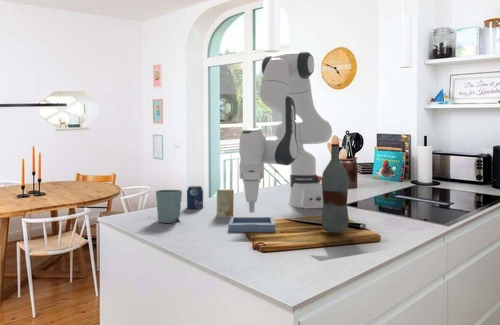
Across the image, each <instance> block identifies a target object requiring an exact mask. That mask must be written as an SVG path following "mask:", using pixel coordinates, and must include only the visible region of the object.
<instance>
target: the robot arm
mask: <svg viewBox="0 0 500 325" xmlns="http://www.w3.org/2000/svg"><path fill="white" fill-rule="evenodd" d="M314 70H315V61H314V56H313V55H312V54H311V53H310V52H308V51H287V52H281V53H277V54H273V53H272V54H269V55H267V56H265V57H264V59H263V60H262V62H261V72H262V78H261V82H260V83H261V84H260V88H259V98H260V101H261V102H262V103H263V105H264V106H266V107H267V108H268V109H270V110H273V111H276V112H278V113H280V114H281V122H279V123H278V124H277V126H276V129H275V136H276V137H267V136H265V135H264V134H263V130H262V129H261V128H257V127H255V128H254V127H253V128H247V129H244V130H242V131H241V132H240V135H239V136H240V138H239V145H238V146H239V149H238V150H239V157H240V161H239V167H238V168H239V171H238V172H239V179H240V180H242V183H243V185H244V186H243V187H244V196H245V201H246V203H248V206H249V207H248V208H249V211H248V212H249V213H250V214H251V213H255V205H256V203H257V201H258V196H259V195H258V194H259V186H260V184H261V180H263V179H265V164H267V165H268V164H269V165H272V164H274V165H281V166H289V165H290V170H291V171H290V175H289V176H290V177H289V186H290V192H289V199H288V203H287V205H288V206H290V207H293V208H300V209H323V193H322V183H321V182H322V175H321V176H320V175H317V174H316V173H317V169H316V168H317V164H316V163H317V162H316V160H317V159H316V157H315V156H314V155H313V154H312V153H310V152H308V151H306V149H305V148H304V147H305V146H304V145H319V144H326V143H328V142H329V141H330V140H331V137H332V136H333V134H332V133H333V128H332V126H331V124H330V122H328V120H326V119H324V118H323V117H322V116H321V115H320V114H319V112H318V111H317V110H316V108H315V105H314V100H313V93H312V92H313V91H312V85H311V84H312V83H311V79H310V77H311V76H312V75H313V73H314ZM296 116H298V117H299V118H300V119H296Z"/></svg>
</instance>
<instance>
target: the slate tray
mask: <svg viewBox="0 0 500 325" xmlns="http://www.w3.org/2000/svg"><path fill="white" fill-rule="evenodd" d="M227 226H228V228H227V229H228V233H267V232H268V233H275V232H276V223H275V219H274V216H233V217H230V219H229V222H228V225H227Z"/></svg>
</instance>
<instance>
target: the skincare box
mask: <svg viewBox="0 0 500 325" xmlns="http://www.w3.org/2000/svg"><path fill="white" fill-rule="evenodd" d="M234 191H235V190H234V189H232V188H217V189H216V217H217V218H222V219H223V218H231V217H234V195H235V194H234Z"/></svg>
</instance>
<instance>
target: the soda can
mask: <svg viewBox="0 0 500 325" xmlns="http://www.w3.org/2000/svg"><path fill="white" fill-rule="evenodd" d="M186 209H187V210H193V211H195V210H196V211H197V210H202V209H204V190H203V187H202V186H199V185H195V186H194V185H191V186H188V187H187V190H186Z"/></svg>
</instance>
